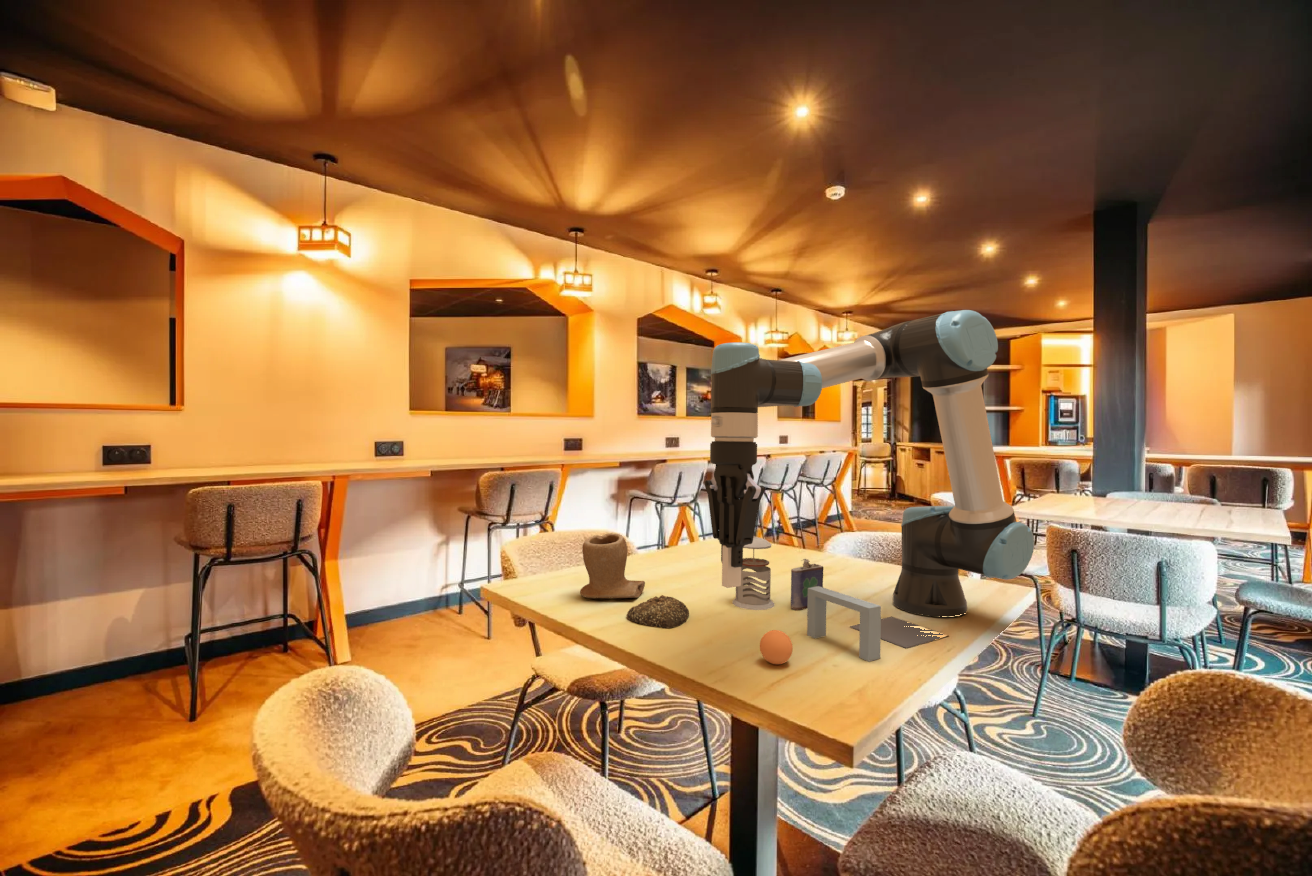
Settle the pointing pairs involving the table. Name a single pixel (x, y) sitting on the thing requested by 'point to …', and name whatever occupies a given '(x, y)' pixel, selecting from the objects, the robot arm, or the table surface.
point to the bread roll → (659, 612)
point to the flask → (804, 583)
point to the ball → (776, 647)
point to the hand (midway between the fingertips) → (731, 585)
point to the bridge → (868, 611)
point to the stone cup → (608, 568)
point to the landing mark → (902, 633)
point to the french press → (746, 594)
